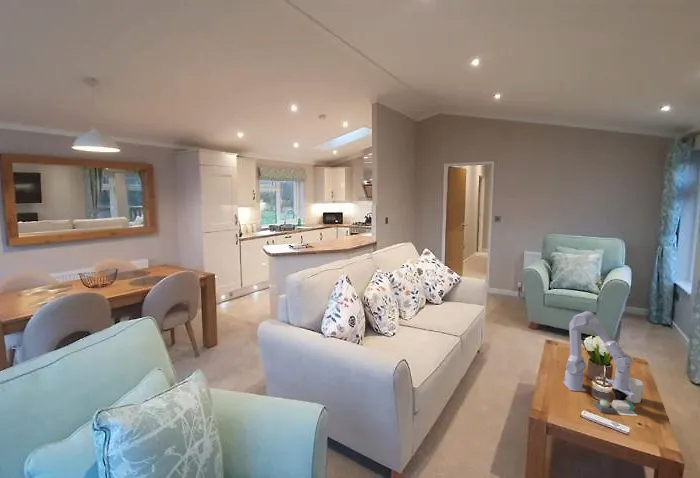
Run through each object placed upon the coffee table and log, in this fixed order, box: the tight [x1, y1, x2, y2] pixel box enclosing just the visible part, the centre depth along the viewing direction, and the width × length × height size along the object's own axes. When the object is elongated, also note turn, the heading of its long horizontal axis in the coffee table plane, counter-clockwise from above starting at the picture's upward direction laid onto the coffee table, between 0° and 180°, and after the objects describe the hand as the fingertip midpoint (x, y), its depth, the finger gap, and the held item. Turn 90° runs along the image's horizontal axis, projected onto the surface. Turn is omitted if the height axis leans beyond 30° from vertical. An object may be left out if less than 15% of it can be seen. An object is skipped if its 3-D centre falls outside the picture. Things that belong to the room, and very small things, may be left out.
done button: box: [599, 399, 611, 408], centre depth 180 cm, size 4×4×3 cm
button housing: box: [594, 400, 616, 414], centre depth 180 cm, size 6×6×2 cm
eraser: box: [611, 399, 635, 412], centre depth 179 cm, size 8×3×3 cm, turn 83°
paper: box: [611, 404, 639, 417], centre depth 179 cm, size 8×8×1 cm
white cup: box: [625, 377, 645, 404], centre depth 188 cm, size 8×8×10 cm
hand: (619, 403), depth 182 cm, fingers closed
